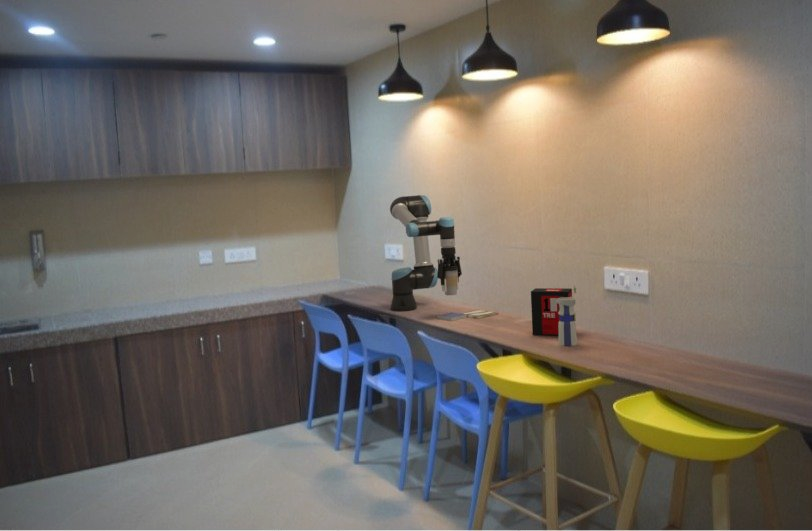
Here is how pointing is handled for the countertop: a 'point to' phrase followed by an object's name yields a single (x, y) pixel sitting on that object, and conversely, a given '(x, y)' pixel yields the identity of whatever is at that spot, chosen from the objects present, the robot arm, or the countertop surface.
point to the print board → (479, 314)
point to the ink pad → (451, 316)
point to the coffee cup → (451, 279)
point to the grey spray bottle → (567, 321)
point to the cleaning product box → (547, 310)
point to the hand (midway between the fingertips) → (450, 290)
